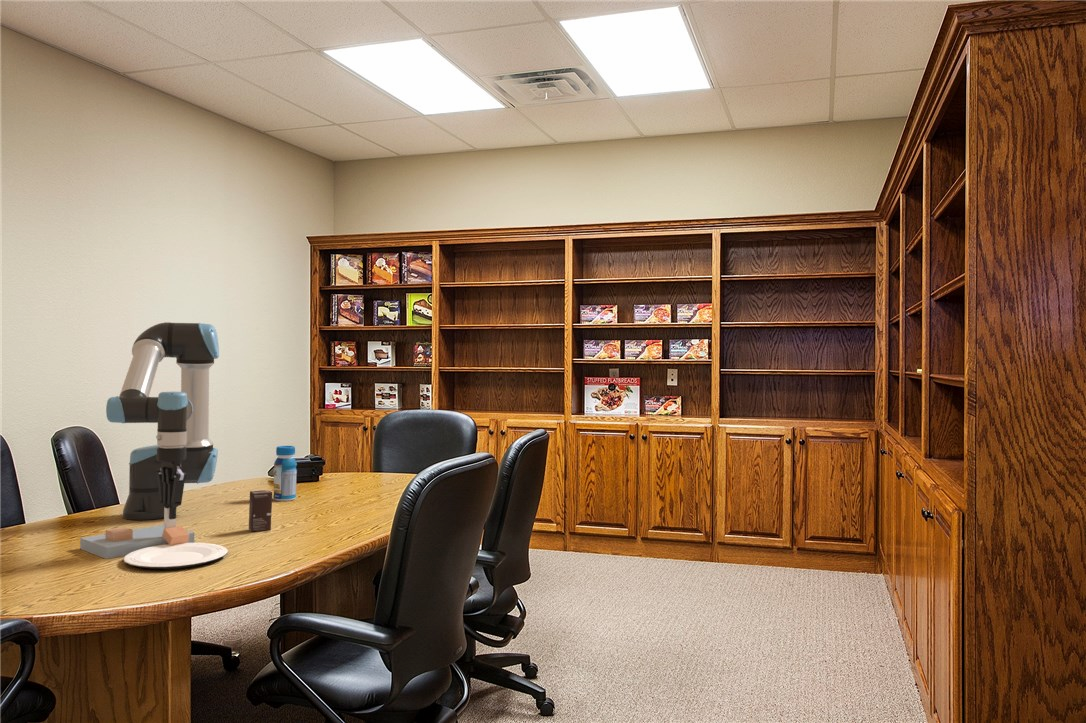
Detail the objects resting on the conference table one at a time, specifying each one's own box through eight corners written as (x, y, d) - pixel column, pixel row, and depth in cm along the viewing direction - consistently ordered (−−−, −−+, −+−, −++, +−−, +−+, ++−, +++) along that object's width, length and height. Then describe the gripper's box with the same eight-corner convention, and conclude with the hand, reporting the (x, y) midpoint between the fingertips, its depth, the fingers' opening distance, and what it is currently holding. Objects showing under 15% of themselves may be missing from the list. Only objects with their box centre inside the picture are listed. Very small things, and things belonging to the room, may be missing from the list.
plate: (159, 579, 188) (159, 571, 188) (103, 563, 201) (103, 555, 201) (247, 558, 209) (247, 551, 209) (191, 544, 222) (191, 538, 222)
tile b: (105, 538, 213) (105, 529, 213) (124, 535, 217) (124, 526, 217) (113, 541, 210) (113, 532, 210) (132, 538, 214) (132, 529, 214)
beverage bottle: (292, 501, 288) (293, 448, 288) (269, 501, 288) (270, 447, 288) (299, 497, 297) (300, 445, 297) (277, 497, 297) (278, 445, 297)
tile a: (162, 536, 216) (163, 528, 215) (179, 533, 220) (181, 525, 219) (170, 545, 213) (172, 537, 212) (187, 542, 217) (189, 534, 216)
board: (80, 548, 213) (80, 537, 213) (166, 534, 232) (166, 524, 232) (106, 558, 204) (106, 547, 204) (194, 542, 223) (194, 532, 223)
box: (251, 532, 237) (252, 493, 237) (248, 529, 241) (249, 491, 241) (272, 530, 241) (272, 491, 241) (268, 527, 244) (269, 489, 244)
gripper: (147, 445, 219) (145, 528, 219) (169, 449, 211) (168, 535, 211) (173, 443, 225) (171, 524, 225) (196, 447, 217) (194, 531, 217)
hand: (169, 530), depth 218 cm, fingers closed
